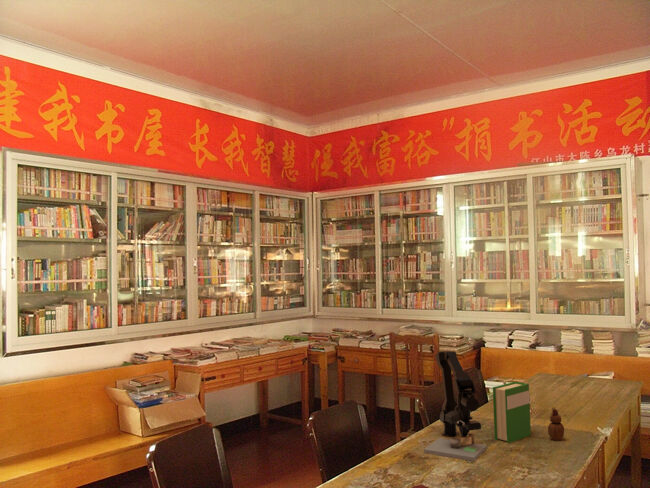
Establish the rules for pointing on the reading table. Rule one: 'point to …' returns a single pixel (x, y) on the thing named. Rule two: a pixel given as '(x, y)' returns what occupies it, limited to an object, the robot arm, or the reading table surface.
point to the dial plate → (455, 450)
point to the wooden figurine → (555, 426)
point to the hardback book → (511, 411)
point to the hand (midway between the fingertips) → (463, 439)
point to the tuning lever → (462, 441)
